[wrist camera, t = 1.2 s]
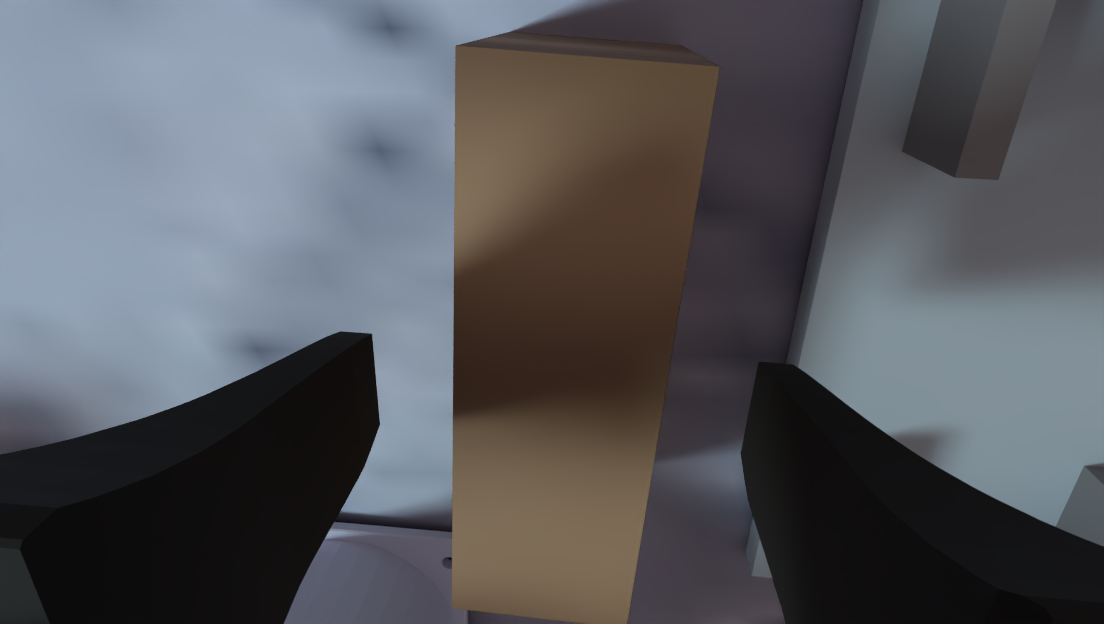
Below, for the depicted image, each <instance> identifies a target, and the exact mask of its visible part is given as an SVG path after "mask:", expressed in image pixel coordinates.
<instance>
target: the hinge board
mask: <svg viewBox="0 0 1104 624" xmlns="http://www.w3.org/2000/svg"><path fill="white" fill-rule="evenodd" d="M786 364H793V365H795V366H796V367H798V368H800V369H801V370H803V371H804V372H805V373H807V374H808V375H809V376H811V377H812V378H813V379H815V380H816V381H817V382H819V383H820V384H821V385H823V386H824V387H825V388H826V389H828V390H829V391H830V392H831V393H833V394H834V395H835V396H837V397H838V398H839V399H840V400H842V401H843V402H844V403H846V404H847V405H848V406H850V407H851V408H852V409H854V410H855V411H856V412H857V413H859V414H860V415H861V416H863V417H864V418H865V419H867V420H868V421H870V422H871V423H872V424H874V425H875V426H876V427H878V428H879V429H881V430H882V431H883V432H885V433H886V434H888V435H889V436H891V437H892V438H894V439H895V440H897V441H898V442H900V443H901V444H903V445H904V446H905V447H907V448H908V449H910V450H911V451H913V452H914V453H916V454H917V455H919V456H921V457H922V458H924V459H925V460H927V461H929V462H930V463H932V464H934V465H935V466H937V467H939V468H940V469H942V470H944V471H946V472H947V473H949V474H951V475H953V476H954V477H956V478H958V479H960V480H961V481H963V482H965V483H967V484H969V485H970V486H972V487H974V488H976V489H978V490H980V491H982V492H983V493H985V494H987V495H989V496H991V497H993V498H995V499H997V500H999V501H1001V502H1003V503H1005V504H1008V505H1010V506H1012V507H1014V508H1016V509H1018V510H1020V511H1022V512H1024V513H1026V514H1028V515H1031V516H1033V517H1035V518H1037V519H1039V520H1041V521H1043V522H1046V523H1048V524H1050V525H1053V526H1055V527H1057V528H1060V529H1062V530H1064V531H1066V532H1069V533H1071V534H1073V535H1076V536H1078V537H1081V538H1083V539H1086V540H1088V541H1091V542H1093V543H1096V544H1098V545H1101V546H1104V0H863V4H862V9H861V14H860V18H859V23H858V28H857V32H856V37H855V42H854V46H853V51H852V56H851V60H850V65H849V70H848V75H847V79H846V84H845V89H844V93H843V98H842V103H841V107H840V112H839V117H838V121H837V126H836V131H835V135H834V140H833V145H832V149H831V154H830V159H829V163H828V168H827V173H826V177H825V182H824V187H823V191H822V196H821V201H820V205H819V210H818V215H817V220H816V224H815V229H814V234H813V238H812V243H811V248H810V252H809V257H808V262H807V266H806V271H805V276H804V280H803V285H802V290H801V294H800V299H799V304H798V308H797V313H796V318H795V322H794V327H793V332H792V336H791V341H790V346H789V350H788V355H787V360H786ZM745 553H746V557H747V561H748V565H749V569H750V573H751V576H752V577H763V578H772V576H771V572H770V569H769V566H768V563H767V560H766V557H765V553H764V550H763V547H762V544H761V541H760V538H759V534H758V531H757V528H756V525H755V521H754V518H753V519H752V524H751V528H750V533H749V538H748V542H747V547H746V552H745Z"/></svg>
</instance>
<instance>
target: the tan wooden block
mask: <svg viewBox="0 0 1104 624" xmlns="http://www.w3.org/2000/svg"><path fill="white" fill-rule="evenodd" d="M719 69H720V67H719V66H717V65H715V64H714V63H712V62H710V61H708V60H706V59H705V58H703V57H701V56H699V55H697V54H696V53H694V52H692V51H690V50H688V49H687V48H685V47H683V46H679V45H666V44H654V43H641V42H628V41H616V40H603V39H590V38H578V37H565V36H552V35H539V34H527V33H514V32H507V33H504V34H500V35H496V36H492V37H488V38H484V39H480V40H476V41H472V42H468V43H465V44H461V45H457V46H456V69H455V211H454V353H453V495H452V608H454V609H462V610H471V611H479V612H488V613H497V614H505V615H514V616H522V617H531V618H539V619H548V620H556V621H565V622H573V623H582V624H627V621H628V615H629V609H630V603H631V597H632V591H633V585H634V579H635V573H636V567H637V561H638V555H639V549H640V543H641V537H642V531H643V525H644V519H645V513H646V507H647V501H648V495H649V489H650V483H651V477H652V471H653V465H654V459H655V453H656V447H657V441H658V435H659V429H660V423H661V417H662V411H663V405H664V399H665V393H666V387H667V381H668V375H669V369H670V363H671V357H672V351H673V345H674V339H675V333H676V327H677V321H678V315H679V309H680V303H681V297H682V291H683V285H684V279H685V273H686V267H687V261H688V255H689V249H690V243H691V237H692V231H693V225H694V219H695V213H696V207H697V201H698V195H699V189H700V183H701V177H702V171H703V165H704V159H705V153H706V147H707V141H708V135H709V129H710V123H711V117H712V111H713V105H714V99H715V93H716V87H717V81H718V75H719Z"/></svg>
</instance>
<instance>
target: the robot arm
mask: <svg viewBox="0 0 1104 624" xmlns="http://www.w3.org/2000/svg"><path fill="white" fill-rule="evenodd" d="M379 425H380V421H379V410H378V398H377V387H376V375H375V364H374V352H373V341H372V334H367V333H354V332H338V333H335V334H332V335H330V336H328V337H325V338H323V339H321V340H319V341H317V342H315V343H313V344H311V345H309V346H307V347H305V348H303V349H301V350H299V351H297V352H295V353H293V354H291V355H289V356H287V357H285V358H283V359H281V360H279V361H277V362H275V363H273V364H271V365H269V366H267V367H265V368H263V369H261V370H259V371H257V372H255V373H253V374H250V375H248V376H246V377H244V378H242V379H239V380H237V381H235V382H233V383H231V384H228V385H226V386H224V387H222V388H220V389H217V390H215V391H213V392H211V393H209V394H206V395H204V396H201V397H199V398H197V399H194V400H192V401H189V402H187V403H184V404H181V405H179V406H176V407H173V408H170V409H168V410H165V411H162V412H159V413H157V414H154V415H151V416H148V417H145V418H142V419H139V420H136V421H132V422H129V423H126V424H122V425H119V426H115V427H112V428H108V429H105V430H102V431H98V432H95V433H91V434H88V435H84V436H81V437H77V438H73V439H69V440H65V441H61V442H57V443H53V444H48V445H44V446H40V447H36V448H31V449H26V450H21V451H17V452H12V453H7V454H2V455H0V624H468V610H462V609H454V608H452V560H450V559H448V558H447V557H451V558H452V532H444V531H432V530H421V529H409V528H398V527H386V526H375V525H364V524H352V523H341V522H334V521H335V520H336V518H337V516H338V514H339V512H340V511H341V509H342V507H343V505H344V503H345V502H346V500H347V498H348V496H349V494H350V493H351V491H352V489H353V487H354V485H355V483H356V482H357V480H358V478H359V476H360V474H361V472H362V470H363V468H364V466H365V463H366V461H367V458H368V456H369V453H370V451H371V448H372V445H373V442H374V439H375V437H376V434H377V431H378V428H379ZM741 458H742V465H743V472H744V479H745V484H746V490H747V496H748V501H749V505H750V508H751V511H752V515H753V518H754V521H755V525H756V528H757V531H758V534H759V538H760V541H761V544H762V547H763V550H764V553H765V557H766V560H767V563H768V566H769V569H770V572H771V576H772V579H773V582H774V585H775V588H776V591H777V595H778V598H779V601H780V604H781V607H782V611H783V615H784V618H785V622H786V624H1104V546H1101V545H1098V544H1096V543H1093V542H1091V541H1088V540H1086V539H1083V538H1081V537H1078V536H1076V535H1073V534H1071V533H1069V532H1066V531H1064V530H1062V529H1060V528H1057V527H1055V526H1053V525H1050V524H1048V523H1046V522H1043V521H1041V520H1039V519H1037V518H1035V517H1033V516H1031V515H1028V514H1026V513H1024V512H1022V511H1020V510H1018V509H1016V508H1014V507H1012V506H1010V505H1008V504H1005V503H1003V502H1001V501H999V500H997V499H995V498H993V497H991V496H989V495H987V494H985V493H983V492H982V491H980V490H978V489H976V488H974V487H972V486H970V485H969V484H967V483H965V482H963V481H961V480H960V479H958V478H956V477H954V476H953V475H951V474H949V473H947V472H946V471H944V470H942V469H940V468H939V467H937V466H935V465H934V464H932V463H930V462H929V461H927V460H925V459H924V458H922V457H921V456H919V455H917V454H916V453H914V452H913V451H911V450H910V449H908V448H907V447H905V446H904V445H903V444H901V443H900V442H898V441H897V440H895V439H894V438H892V437H891V436H889V435H888V434H886V433H885V432H883V431H882V430H881V429H879V428H878V427H876V426H875V425H874V424H872V423H871V422H870V421H868V420H867V419H865V418H864V417H863V416H861V415H860V414H859V413H857V412H856V411H855V410H854V409H852V408H851V407H850V406H848V405H847V404H846V403H844V402H843V401H842V400H840V399H839V398H838V397H837V396H835V395H834V394H833V393H831V392H830V391H829V390H828V389H826V388H825V387H824V386H823V385H821V384H820V383H819V382H817V381H816V380H815V379H813V378H812V377H811V376H809V375H808V374H807V373H805V372H804V371H803V370H801V369H800V368H798V367H796V366H795V365H793V364H781V363H768V362H759V363H758V368H757V374H756V379H755V384H754V389H753V394H752V399H751V404H750V409H749V414H748V420H747V425H746V430H745V435H744V440H743V445H742V450H741Z"/></svg>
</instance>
